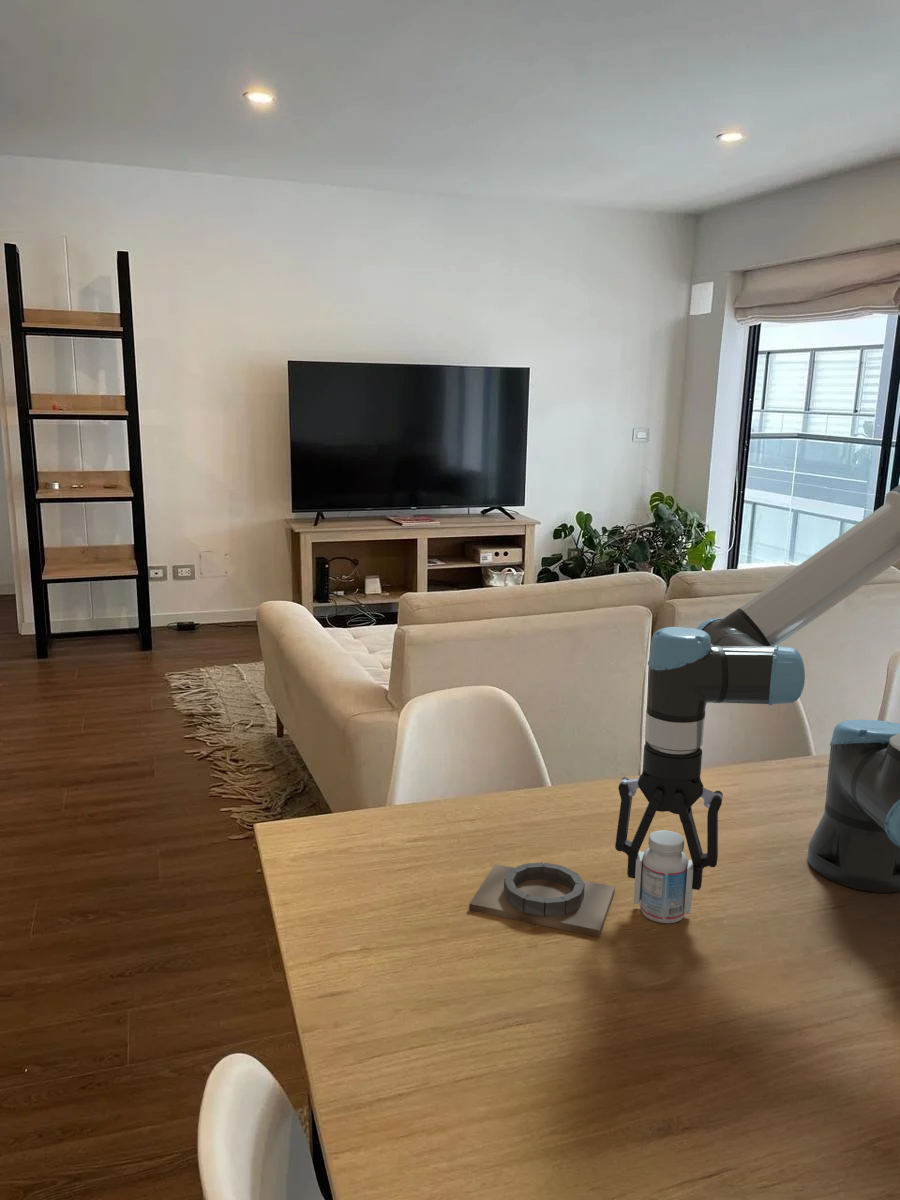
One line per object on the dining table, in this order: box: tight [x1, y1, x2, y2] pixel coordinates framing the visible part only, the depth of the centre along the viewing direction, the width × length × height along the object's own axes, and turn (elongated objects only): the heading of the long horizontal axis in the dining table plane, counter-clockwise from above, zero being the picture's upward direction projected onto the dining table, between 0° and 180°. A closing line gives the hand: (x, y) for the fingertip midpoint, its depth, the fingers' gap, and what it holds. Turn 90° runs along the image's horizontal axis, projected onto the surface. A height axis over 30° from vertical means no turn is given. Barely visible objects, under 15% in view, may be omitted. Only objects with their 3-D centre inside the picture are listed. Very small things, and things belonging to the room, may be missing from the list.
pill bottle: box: [639, 829, 689, 924], centre depth 121 cm, size 6×6×11 cm
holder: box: [468, 861, 616, 938], centre depth 124 cm, size 18×12×3 cm, turn 70°
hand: (662, 903), depth 121 cm, fingers closed on pill bottle, 6 cm apart
